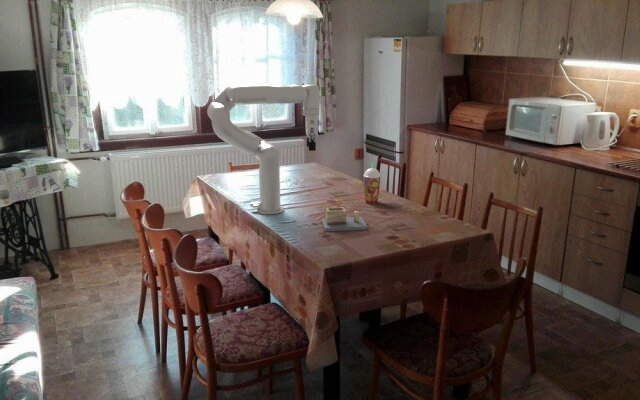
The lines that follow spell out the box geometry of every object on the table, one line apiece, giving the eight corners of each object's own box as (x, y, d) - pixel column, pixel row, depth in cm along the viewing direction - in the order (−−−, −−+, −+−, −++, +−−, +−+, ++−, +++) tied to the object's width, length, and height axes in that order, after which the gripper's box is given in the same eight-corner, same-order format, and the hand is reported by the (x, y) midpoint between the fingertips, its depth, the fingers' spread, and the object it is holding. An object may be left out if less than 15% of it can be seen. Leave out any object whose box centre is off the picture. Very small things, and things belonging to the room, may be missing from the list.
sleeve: (346, 224, 229) (346, 211, 228) (327, 225, 228) (327, 211, 227) (343, 219, 235) (343, 206, 233) (325, 220, 234) (325, 207, 233)
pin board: (324, 231, 225) (324, 217, 224) (321, 221, 238) (321, 208, 236) (367, 229, 227) (367, 216, 226) (361, 219, 240) (361, 207, 238)
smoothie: (359, 200, 268) (360, 161, 262) (374, 199, 271) (375, 160, 266) (367, 205, 261) (368, 165, 255) (382, 203, 264) (384, 163, 258)
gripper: (321, 114, 239) (321, 152, 244) (316, 109, 256) (317, 144, 261) (304, 114, 238) (304, 152, 243) (301, 109, 255) (301, 145, 260)
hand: (311, 148), depth 252 cm, fingers open, 9 cm apart
